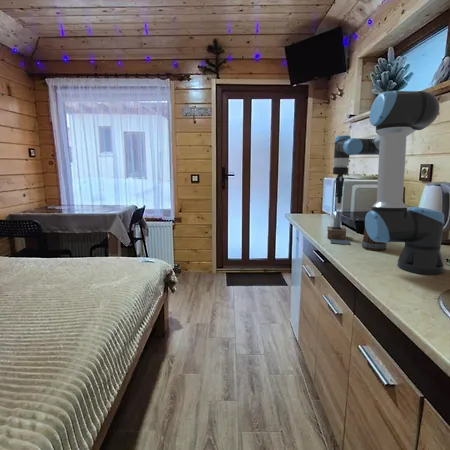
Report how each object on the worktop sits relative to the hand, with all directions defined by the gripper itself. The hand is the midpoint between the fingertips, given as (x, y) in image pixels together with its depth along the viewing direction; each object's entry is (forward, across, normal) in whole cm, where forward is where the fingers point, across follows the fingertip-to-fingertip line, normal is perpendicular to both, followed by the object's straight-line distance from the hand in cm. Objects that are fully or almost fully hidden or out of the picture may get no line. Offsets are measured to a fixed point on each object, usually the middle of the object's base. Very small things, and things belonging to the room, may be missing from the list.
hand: (337, 207), depth 170 cm
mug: (+16, -16, -16) cm, 28 cm away
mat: (+16, -10, -2) cm, 19 cm away
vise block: (+16, 0, 0) cm, 16 cm away
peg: (+16, 0, 0) cm, 16 cm away
